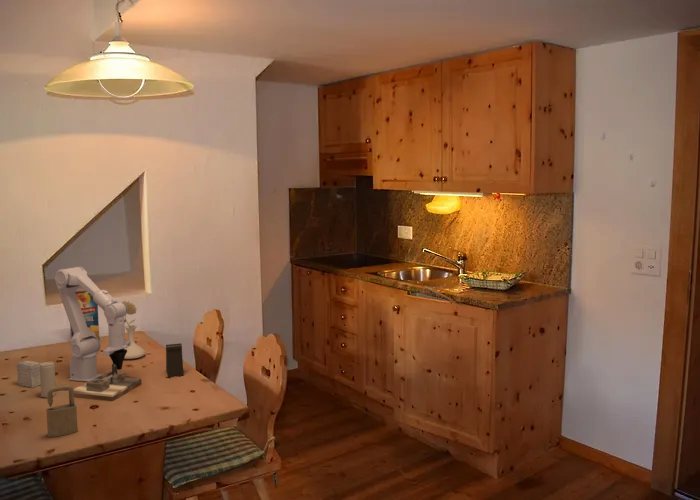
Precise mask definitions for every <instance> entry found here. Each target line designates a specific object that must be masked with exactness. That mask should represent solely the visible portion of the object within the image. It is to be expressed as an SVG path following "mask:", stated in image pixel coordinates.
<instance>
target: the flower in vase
mask: <svg viewBox="0 0 700 500" xmlns="http://www.w3.org/2000/svg"><path fill="white" fill-rule="evenodd" d="M122 302H124V303H125V305H126V306H127V314H126V315H125V316H124V324H127V326H125V331H126V332H127V336H128V341H131V346H128V348H125V349H126V350H127V353H126V355H125V357H124V360H134V359H137V358H141V357H143V356H145V355H146V350H145V349H144V348H143V347H141V346H140V345H139V344H137V343H136V342H135V331H136V330H137V329H136V328H137V327H138V326H137V325H135V324H134V325H132V323H134V322H135V321H136V319H133V320H131V321H130V322H128V320H127V318H126V317H127V315H130V316H131V315H135V314H136V313H137V307H136V305H135V304H133V303H132V302H130V300H129V301H127V300H122Z"/></svg>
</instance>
